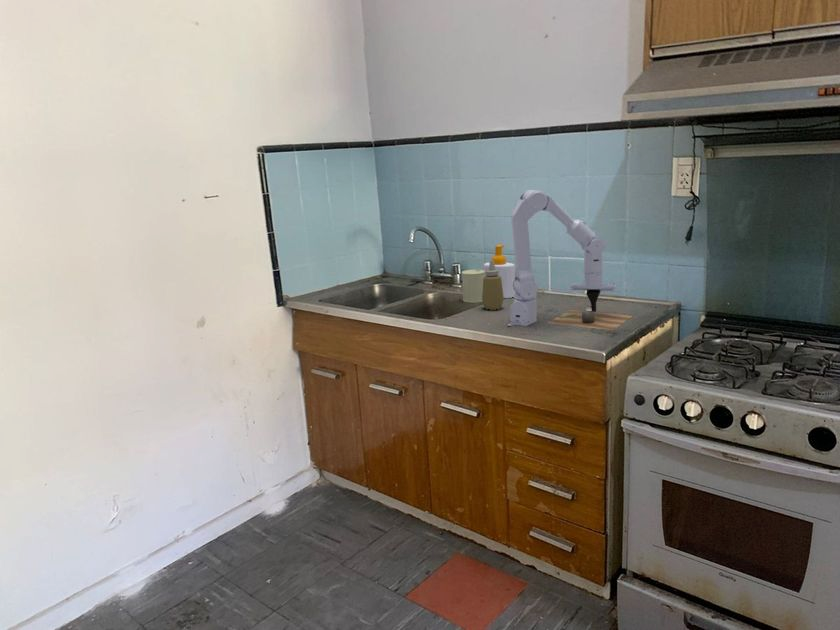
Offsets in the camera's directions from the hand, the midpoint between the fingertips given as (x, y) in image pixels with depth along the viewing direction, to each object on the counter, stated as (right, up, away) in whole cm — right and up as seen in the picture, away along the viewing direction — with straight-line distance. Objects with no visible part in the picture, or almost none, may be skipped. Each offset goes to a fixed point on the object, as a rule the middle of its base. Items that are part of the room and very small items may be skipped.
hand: (593, 311), depth 211 cm
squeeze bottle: (-31, +1, +22) cm, 38 cm away
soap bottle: (-26, +6, +42) cm, 50 cm away
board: (-2, -4, -4) cm, 6 cm away
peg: (-2, -2, -3) cm, 4 cm away
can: (-37, +4, +37) cm, 53 cm away
